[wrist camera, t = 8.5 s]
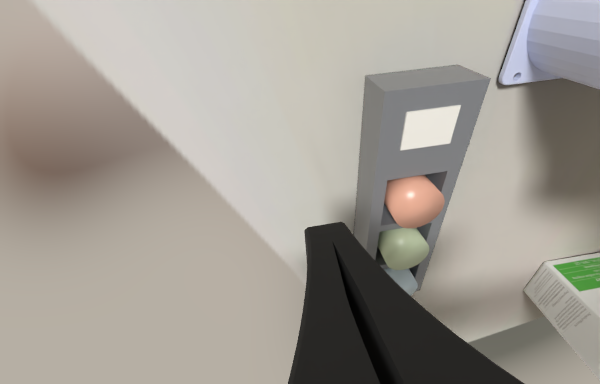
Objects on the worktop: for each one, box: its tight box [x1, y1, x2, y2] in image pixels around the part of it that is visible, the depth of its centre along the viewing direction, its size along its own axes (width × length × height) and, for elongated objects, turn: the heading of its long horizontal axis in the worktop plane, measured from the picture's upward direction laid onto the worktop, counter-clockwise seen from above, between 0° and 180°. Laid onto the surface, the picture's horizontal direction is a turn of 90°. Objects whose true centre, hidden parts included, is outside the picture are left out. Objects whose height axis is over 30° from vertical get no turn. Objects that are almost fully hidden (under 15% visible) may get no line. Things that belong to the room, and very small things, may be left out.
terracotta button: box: [384, 175, 445, 228], centre depth 20 cm, size 4×4×3 cm
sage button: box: [378, 228, 429, 270], centre depth 23 cm, size 4×4×3 cm
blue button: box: [384, 268, 418, 296], centre depth 26 cm, size 4×4×3 cm
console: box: [354, 65, 491, 291], centre depth 22 cm, size 6×20×3 cm, turn 4°
